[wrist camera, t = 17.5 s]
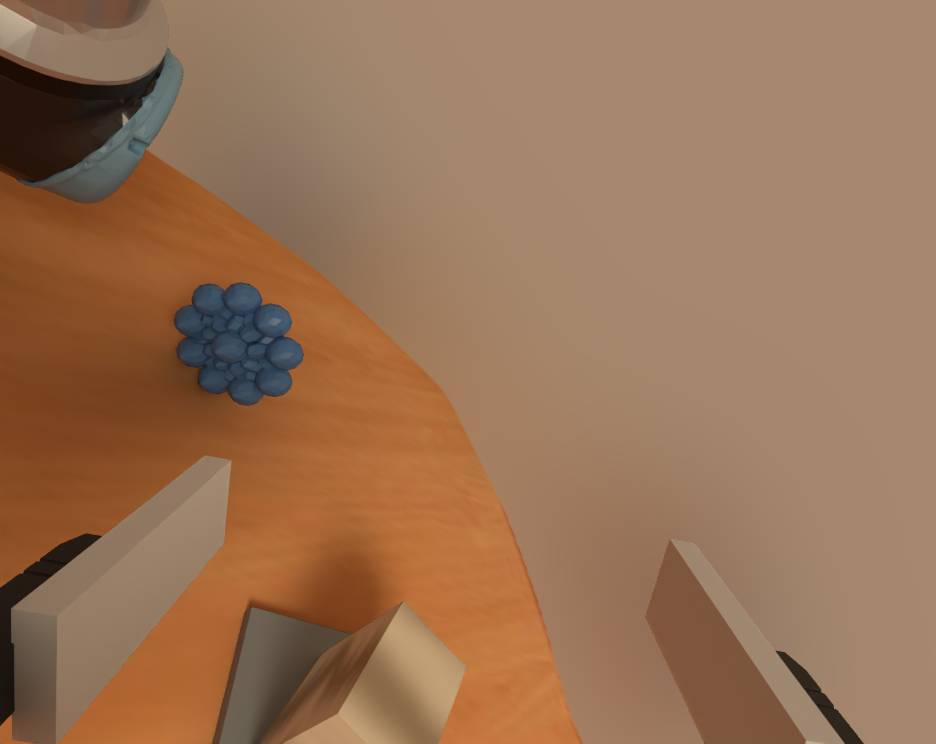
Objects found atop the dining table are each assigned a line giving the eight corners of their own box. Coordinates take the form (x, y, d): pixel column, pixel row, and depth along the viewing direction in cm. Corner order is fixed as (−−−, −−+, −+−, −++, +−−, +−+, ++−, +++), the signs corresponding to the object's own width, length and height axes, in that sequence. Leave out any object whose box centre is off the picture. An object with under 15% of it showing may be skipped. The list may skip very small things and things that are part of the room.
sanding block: (319, 655, 39) (403, 600, 34) (375, 714, 39) (466, 667, 34) (243, 764, 31) (337, 713, 27) (313, 835, 32) (418, 796, 27)
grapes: (280, 415, 51) (350, 339, 46) (229, 446, 45) (303, 362, 40) (199, 326, 51) (260, 238, 46) (137, 344, 45) (199, 246, 40)
